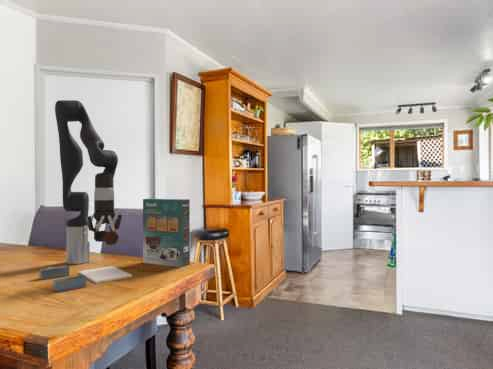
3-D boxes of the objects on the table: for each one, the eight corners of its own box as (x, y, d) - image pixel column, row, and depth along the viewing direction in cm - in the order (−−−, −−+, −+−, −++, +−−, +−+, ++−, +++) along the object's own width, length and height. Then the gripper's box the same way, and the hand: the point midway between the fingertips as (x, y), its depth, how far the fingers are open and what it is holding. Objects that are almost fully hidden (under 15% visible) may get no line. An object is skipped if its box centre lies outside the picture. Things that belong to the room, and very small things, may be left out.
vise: (62, 271, 151) (62, 263, 151) (86, 286, 129) (86, 276, 129) (36, 275, 145) (36, 266, 145) (55, 292, 122) (55, 282, 122)
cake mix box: (189, 264, 164) (189, 199, 164) (182, 267, 159) (182, 199, 159) (151, 260, 173) (151, 198, 173) (143, 262, 168) (143, 199, 168)
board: (112, 267, 157) (112, 266, 157) (131, 276, 142) (131, 274, 142) (78, 273, 148) (78, 271, 148) (95, 283, 133) (95, 281, 133)
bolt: (100, 244, 151) (113, 247, 140) (89, 239, 148) (102, 242, 137) (106, 231, 153) (121, 234, 142) (96, 226, 150) (109, 228, 139)
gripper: (118, 198, 153) (118, 237, 153) (82, 199, 143) (82, 241, 143) (125, 198, 147) (125, 239, 147) (89, 199, 138) (89, 243, 138)
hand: (104, 240), depth 145 cm, fingers closed on bolt, 5 cm apart
